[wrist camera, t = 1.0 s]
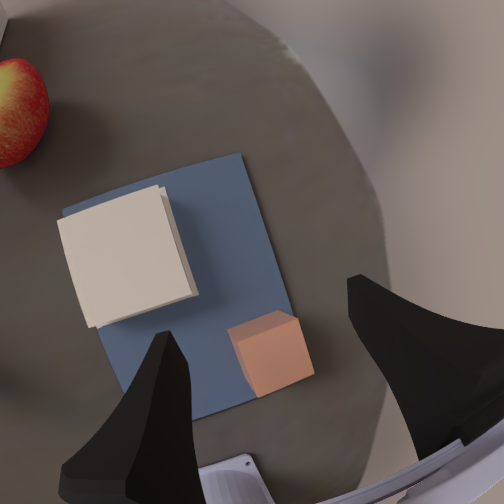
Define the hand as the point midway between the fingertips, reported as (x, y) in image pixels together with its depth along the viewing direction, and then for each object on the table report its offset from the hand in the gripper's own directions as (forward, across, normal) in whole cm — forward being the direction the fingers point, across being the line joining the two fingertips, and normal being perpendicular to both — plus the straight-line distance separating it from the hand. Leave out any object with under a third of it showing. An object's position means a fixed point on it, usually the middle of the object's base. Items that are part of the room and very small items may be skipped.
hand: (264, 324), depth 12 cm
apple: (+16, +15, -11) cm, 24 cm away
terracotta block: (+7, 0, +8) cm, 11 cm away
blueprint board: (+9, +5, +4) cm, 11 cm away
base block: (+10, +8, 0) cm, 13 cm away
